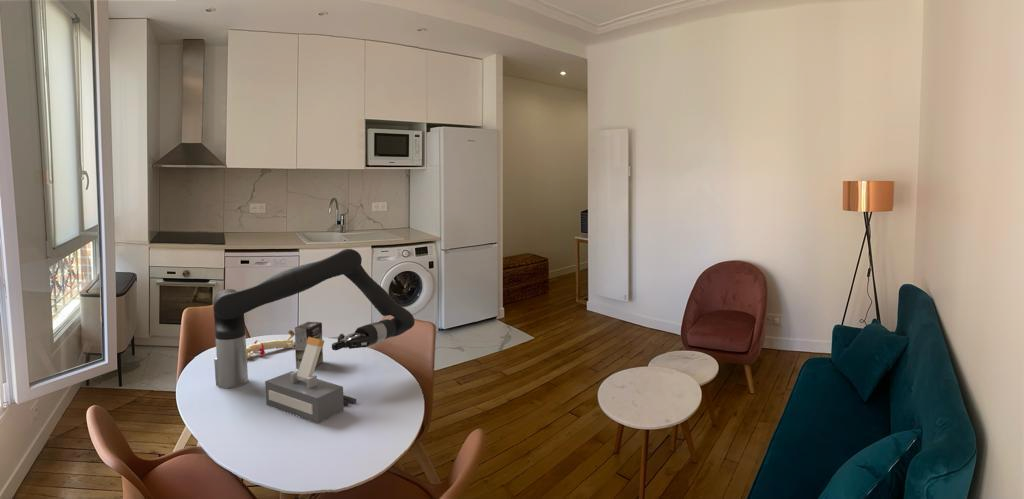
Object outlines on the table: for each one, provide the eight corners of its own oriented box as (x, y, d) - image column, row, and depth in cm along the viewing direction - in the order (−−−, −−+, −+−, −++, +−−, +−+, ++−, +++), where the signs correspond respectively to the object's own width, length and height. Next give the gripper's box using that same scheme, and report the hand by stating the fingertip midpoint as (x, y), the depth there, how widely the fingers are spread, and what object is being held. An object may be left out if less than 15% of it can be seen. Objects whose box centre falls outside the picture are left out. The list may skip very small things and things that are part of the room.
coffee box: (310, 370, 197) (309, 328, 194) (295, 368, 198) (293, 327, 196) (323, 361, 206) (322, 322, 203) (309, 360, 207) (307, 320, 205)
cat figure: (288, 346, 226) (226, 356, 207) (289, 327, 225) (227, 334, 207) (299, 352, 219) (236, 362, 201) (300, 332, 219) (237, 340, 200)
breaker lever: (298, 379, 166) (312, 337, 169) (311, 383, 163) (325, 340, 166) (293, 379, 164) (307, 336, 168) (306, 383, 162) (320, 339, 165)
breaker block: (308, 387, 181) (307, 357, 179) (358, 403, 169) (357, 371, 168) (265, 405, 167) (263, 372, 165) (316, 424, 155) (315, 389, 153)
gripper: (357, 321, 191) (319, 333, 176) (384, 327, 185) (347, 339, 170) (357, 340, 192) (320, 354, 177) (384, 347, 186) (347, 361, 171)
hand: (333, 347), depth 174 cm, fingers closed
